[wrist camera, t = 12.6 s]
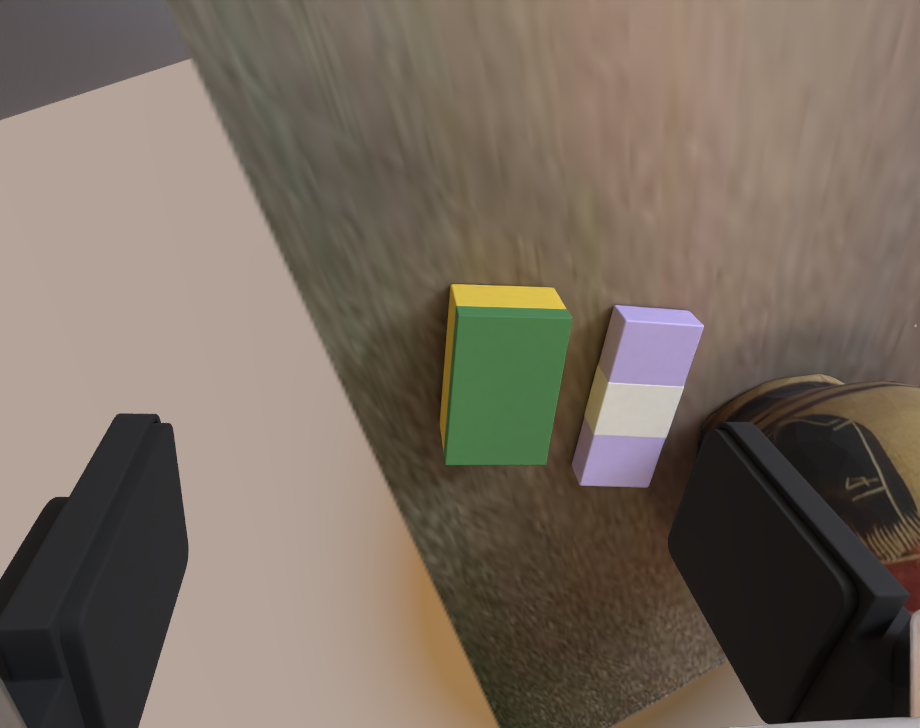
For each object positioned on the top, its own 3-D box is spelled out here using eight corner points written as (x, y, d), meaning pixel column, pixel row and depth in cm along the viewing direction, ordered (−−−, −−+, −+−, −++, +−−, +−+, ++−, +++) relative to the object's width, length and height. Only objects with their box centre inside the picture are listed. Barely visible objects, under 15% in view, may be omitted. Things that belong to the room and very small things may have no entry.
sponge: (450, 283, 30) (458, 315, 27) (554, 286, 31) (572, 318, 28) (439, 424, 34) (445, 465, 31) (531, 424, 35) (546, 465, 32)
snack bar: (637, 467, 37) (649, 488, 35) (570, 464, 36) (579, 486, 35) (689, 309, 32) (705, 326, 31) (613, 304, 32) (625, 320, 30)
